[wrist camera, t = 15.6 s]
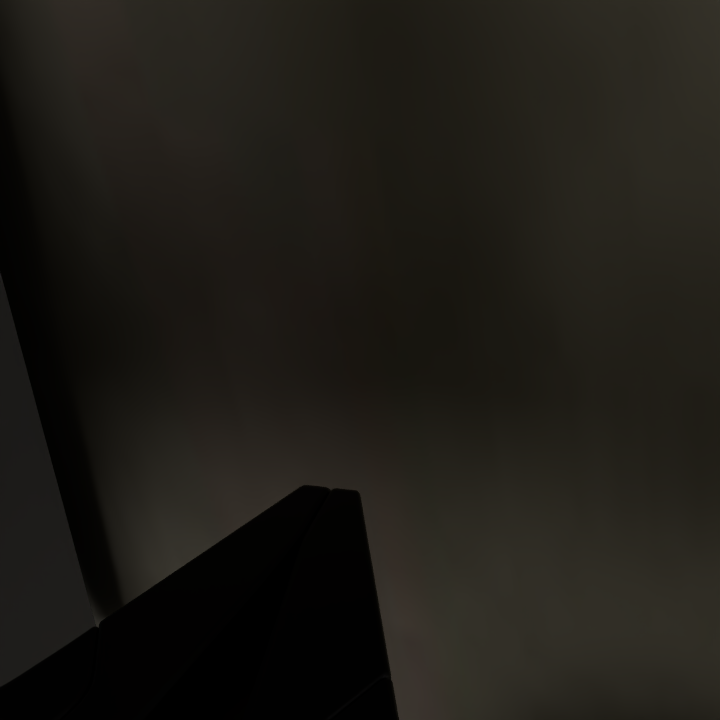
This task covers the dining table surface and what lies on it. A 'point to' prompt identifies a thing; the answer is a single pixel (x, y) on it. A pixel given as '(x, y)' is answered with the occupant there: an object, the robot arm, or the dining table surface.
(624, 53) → the dining table surface
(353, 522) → the robot arm
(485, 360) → the dining table surface
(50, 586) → the tray
